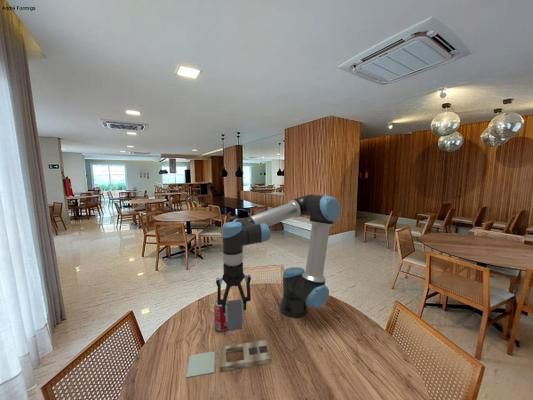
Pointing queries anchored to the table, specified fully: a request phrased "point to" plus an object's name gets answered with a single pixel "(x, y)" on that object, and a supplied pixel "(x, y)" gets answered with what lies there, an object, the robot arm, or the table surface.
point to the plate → (245, 355)
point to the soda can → (220, 318)
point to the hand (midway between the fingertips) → (234, 318)
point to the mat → (201, 364)
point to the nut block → (234, 315)
